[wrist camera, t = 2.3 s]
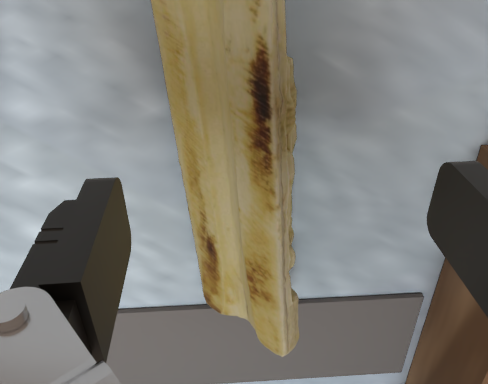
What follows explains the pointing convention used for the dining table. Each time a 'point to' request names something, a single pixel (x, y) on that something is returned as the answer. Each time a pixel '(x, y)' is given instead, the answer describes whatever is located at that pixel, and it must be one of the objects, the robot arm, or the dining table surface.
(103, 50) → the dining table surface
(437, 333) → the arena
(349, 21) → the dining table surface
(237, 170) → the plank
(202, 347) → the mat
